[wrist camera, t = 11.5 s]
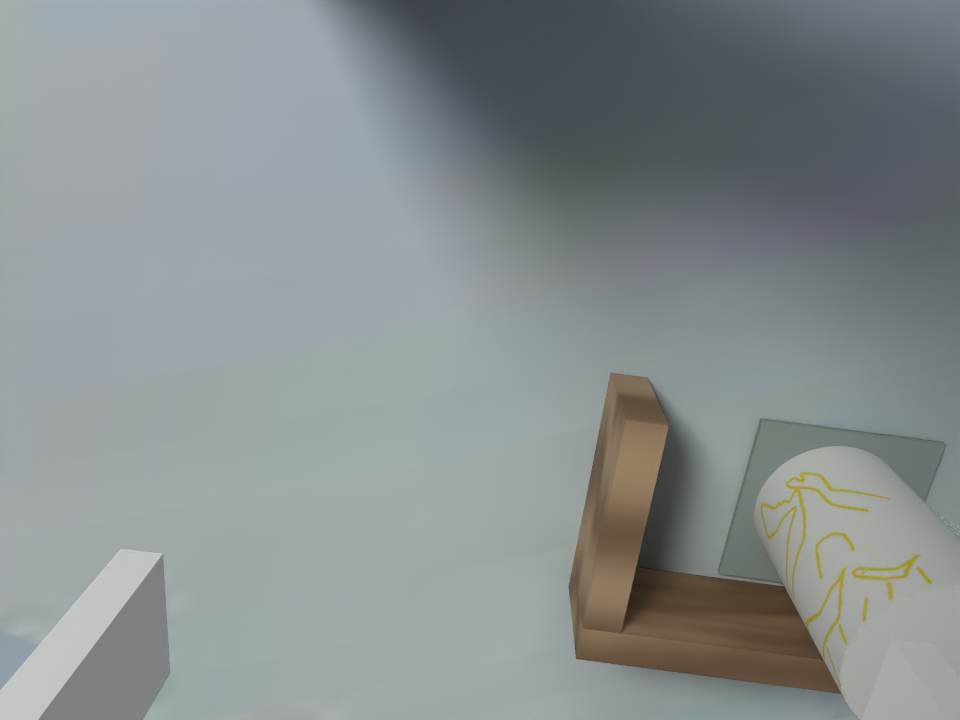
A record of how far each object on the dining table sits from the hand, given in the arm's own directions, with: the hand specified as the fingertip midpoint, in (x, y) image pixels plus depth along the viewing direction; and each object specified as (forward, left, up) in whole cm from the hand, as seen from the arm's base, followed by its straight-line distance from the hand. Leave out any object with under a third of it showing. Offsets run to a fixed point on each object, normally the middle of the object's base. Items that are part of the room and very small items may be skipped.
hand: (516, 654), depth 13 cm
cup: (+11, +19, -26) cm, 34 cm away
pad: (+11, +19, -27) cm, 34 cm away
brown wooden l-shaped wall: (+11, +17, -27) cm, 33 cm away
